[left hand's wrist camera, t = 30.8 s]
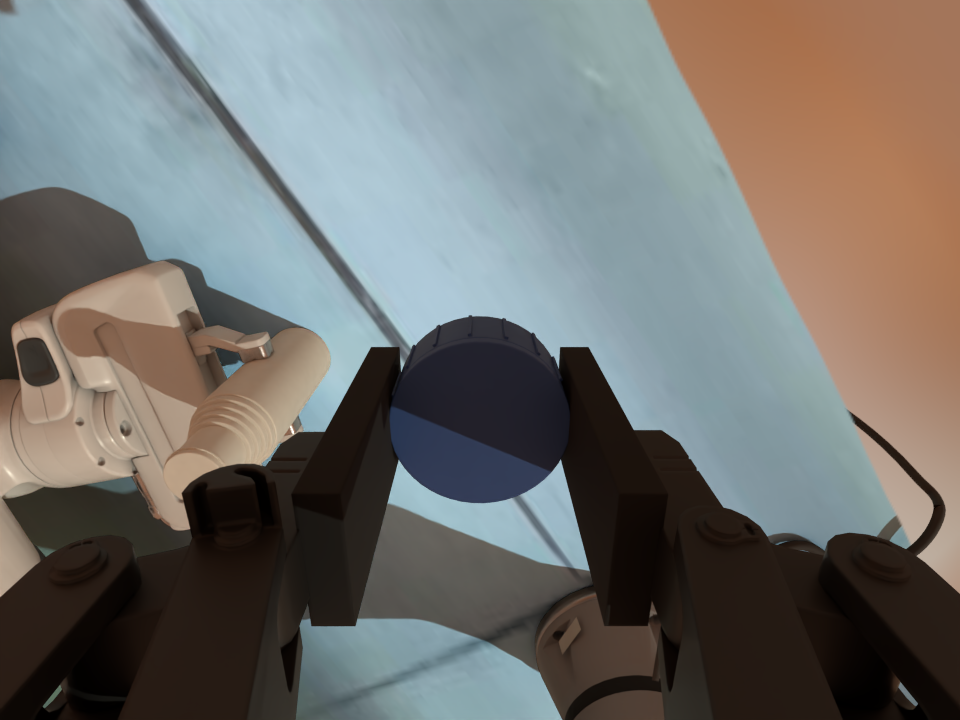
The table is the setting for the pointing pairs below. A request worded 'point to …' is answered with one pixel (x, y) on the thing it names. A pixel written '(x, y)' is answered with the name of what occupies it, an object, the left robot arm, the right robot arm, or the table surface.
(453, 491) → the cap
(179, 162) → the table surface
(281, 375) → the bottle
